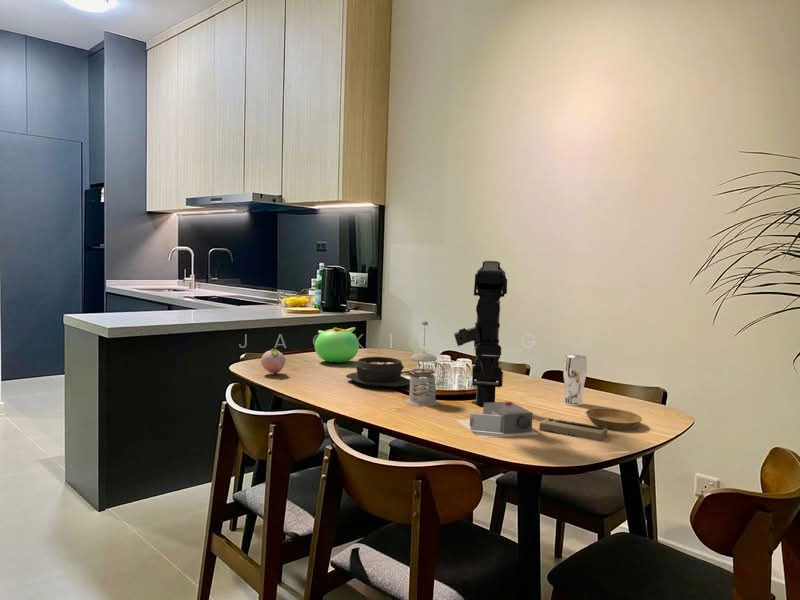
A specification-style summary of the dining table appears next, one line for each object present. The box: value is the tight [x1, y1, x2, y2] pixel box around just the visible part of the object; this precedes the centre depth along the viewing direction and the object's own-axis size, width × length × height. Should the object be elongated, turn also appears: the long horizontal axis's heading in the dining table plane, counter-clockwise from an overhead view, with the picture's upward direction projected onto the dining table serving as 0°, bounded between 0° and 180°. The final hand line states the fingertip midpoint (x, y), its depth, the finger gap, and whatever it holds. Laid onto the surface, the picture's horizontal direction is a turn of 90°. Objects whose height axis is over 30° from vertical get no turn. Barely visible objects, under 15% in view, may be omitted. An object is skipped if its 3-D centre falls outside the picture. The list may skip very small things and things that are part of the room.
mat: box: [456, 419, 539, 439], centre depth 156 cm, size 16×16×1 cm
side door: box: [469, 412, 504, 433], centre depth 150 cm, size 8×1×4 cm, turn 78°
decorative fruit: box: [260, 347, 286, 374], centre depth 214 cm, size 9×8×10 cm
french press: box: [405, 320, 446, 407], centre depth 180 cm, size 10×12×25 cm
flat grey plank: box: [538, 418, 608, 442], centre depth 153 cm, size 16×8×3 cm, turn 60°
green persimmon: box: [314, 326, 360, 364], centre depth 243 cm, size 18×17×15 cm
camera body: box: [482, 400, 533, 434], centre depth 156 cm, size 13×8×6 cm, turn 18°
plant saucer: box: [585, 407, 643, 430], centre depth 164 cm, size 15×15×3 cm
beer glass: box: [562, 354, 588, 407], centre depth 185 cm, size 7×7×15 cm
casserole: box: [345, 356, 410, 388], centre depth 204 cm, size 25×19×8 cm
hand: (485, 378), depth 153 cm, fingers open, 9 cm apart
